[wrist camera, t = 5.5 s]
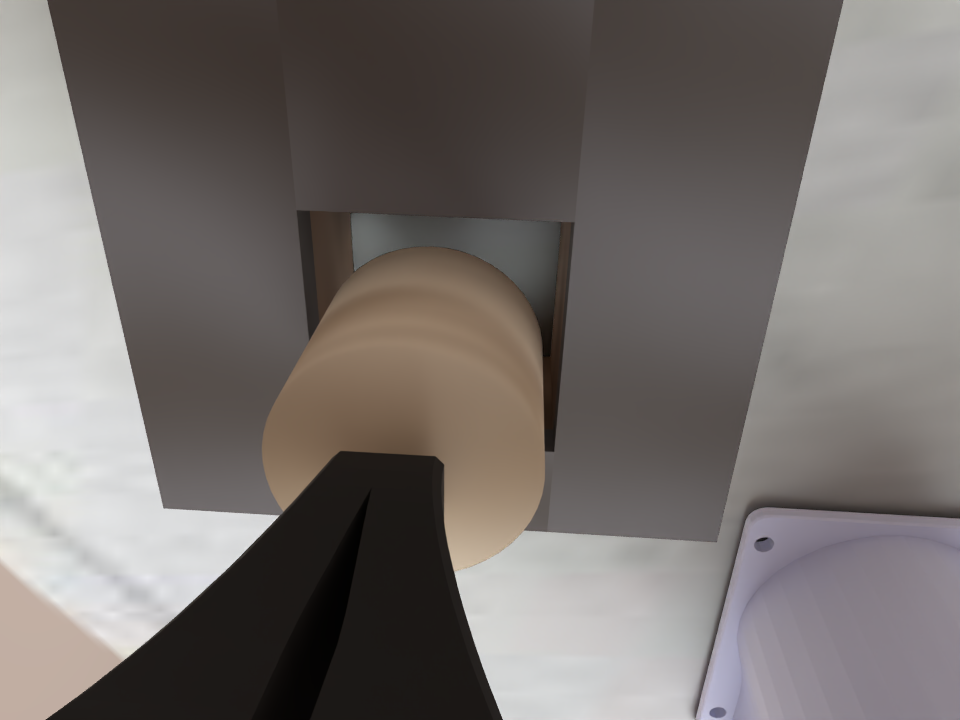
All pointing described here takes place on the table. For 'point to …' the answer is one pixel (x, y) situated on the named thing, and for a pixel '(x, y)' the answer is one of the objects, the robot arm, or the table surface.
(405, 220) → the table surface
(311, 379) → the inner peg
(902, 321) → the table surface
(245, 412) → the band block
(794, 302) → the table surface
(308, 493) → the robot arm
